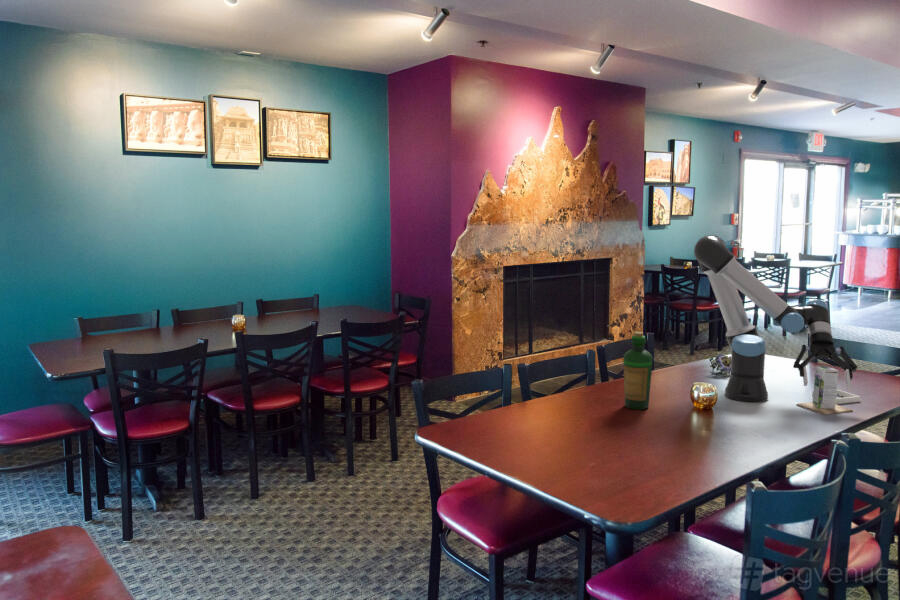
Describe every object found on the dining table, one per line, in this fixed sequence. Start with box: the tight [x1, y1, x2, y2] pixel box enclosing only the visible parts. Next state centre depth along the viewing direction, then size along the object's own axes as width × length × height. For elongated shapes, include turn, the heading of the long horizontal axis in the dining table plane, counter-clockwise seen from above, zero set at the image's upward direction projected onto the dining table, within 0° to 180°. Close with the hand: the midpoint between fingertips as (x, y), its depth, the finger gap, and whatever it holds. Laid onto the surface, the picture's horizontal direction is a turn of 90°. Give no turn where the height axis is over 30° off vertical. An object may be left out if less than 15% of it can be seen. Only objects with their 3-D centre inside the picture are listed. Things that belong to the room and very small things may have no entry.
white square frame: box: [811, 388, 862, 405], centre depth 243 cm, size 11×11×2 cm
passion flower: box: [709, 351, 731, 377], centre depth 283 cm, size 11×11×12 cm
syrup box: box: [812, 365, 839, 409], centre depth 231 cm, size 6×6×14 cm
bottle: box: [622, 331, 654, 411], centre depth 235 cm, size 11×11×28 cm
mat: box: [796, 401, 854, 416], centre depth 232 cm, size 13×12×1 cm
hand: (827, 385), depth 229 cm, fingers open, 13 cm apart
